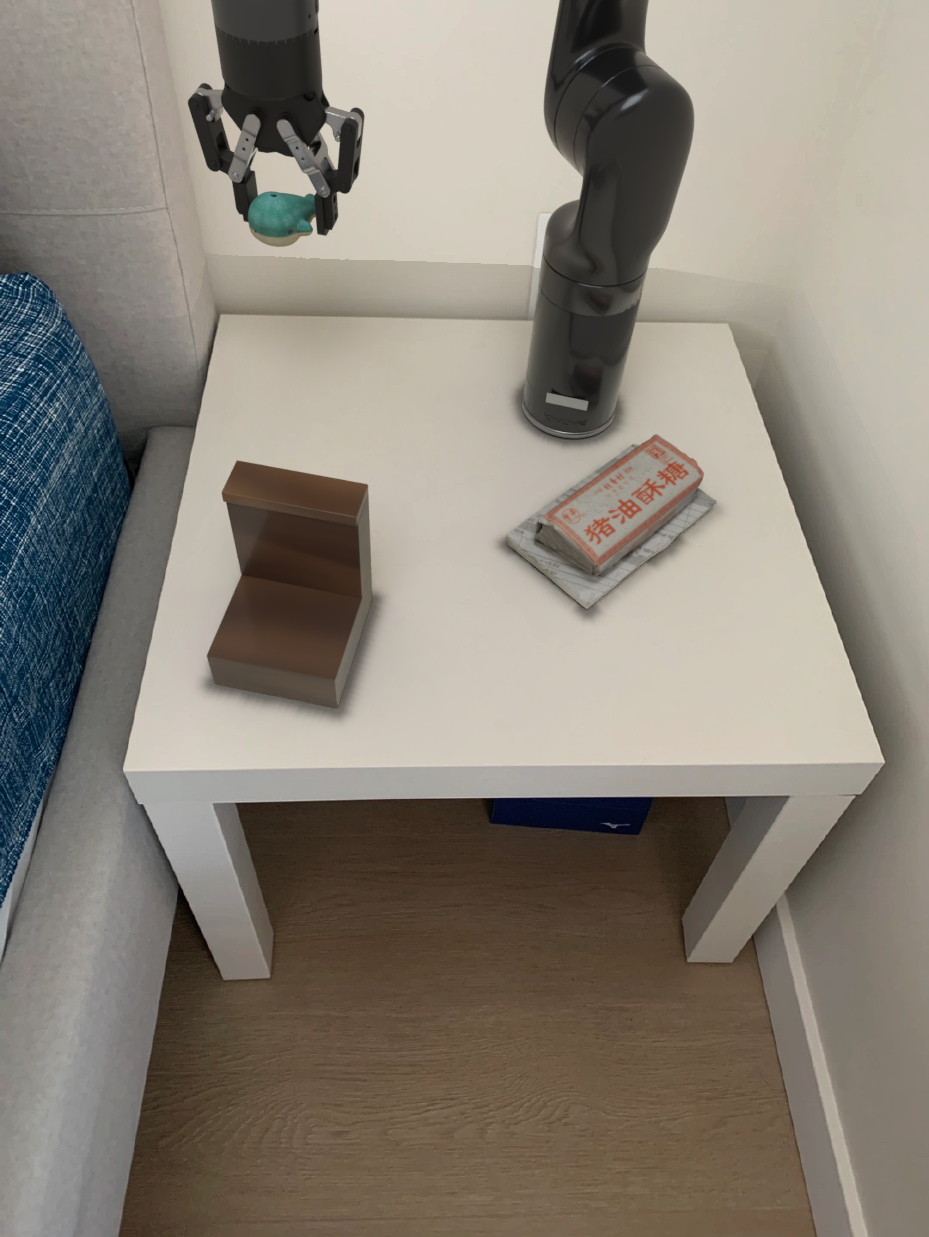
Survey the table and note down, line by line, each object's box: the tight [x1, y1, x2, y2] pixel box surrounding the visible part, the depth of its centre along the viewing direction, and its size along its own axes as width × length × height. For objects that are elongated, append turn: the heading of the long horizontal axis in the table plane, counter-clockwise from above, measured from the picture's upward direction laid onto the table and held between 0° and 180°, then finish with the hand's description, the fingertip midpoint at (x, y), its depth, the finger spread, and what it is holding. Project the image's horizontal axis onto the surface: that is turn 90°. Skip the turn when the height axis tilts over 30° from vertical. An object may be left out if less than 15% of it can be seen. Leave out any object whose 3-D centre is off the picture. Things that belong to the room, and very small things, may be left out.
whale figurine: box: [247, 190, 316, 248], centre depth 83 cm, size 6×7×4 cm
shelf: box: [206, 460, 373, 709], centre depth 74 cm, size 11×10×14 cm
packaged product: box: [506, 433, 718, 610], centre depth 87 cm, size 18×5×10 cm
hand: (288, 223), depth 84 cm, fingers closed on whale figurine, 6 cm apart
